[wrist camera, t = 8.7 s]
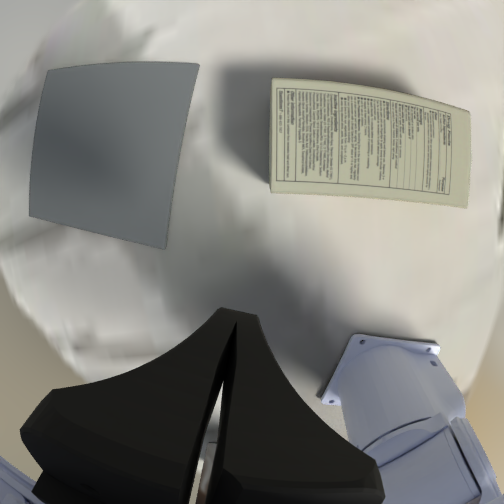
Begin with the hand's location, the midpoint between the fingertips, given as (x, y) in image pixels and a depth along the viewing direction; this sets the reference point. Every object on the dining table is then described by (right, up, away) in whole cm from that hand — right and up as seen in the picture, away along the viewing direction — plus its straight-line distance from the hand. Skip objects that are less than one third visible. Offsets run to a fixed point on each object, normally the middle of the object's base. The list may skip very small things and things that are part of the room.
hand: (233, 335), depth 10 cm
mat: (-11, +11, +8) cm, 17 cm away
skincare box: (+1, +9, +5) cm, 11 cm away
